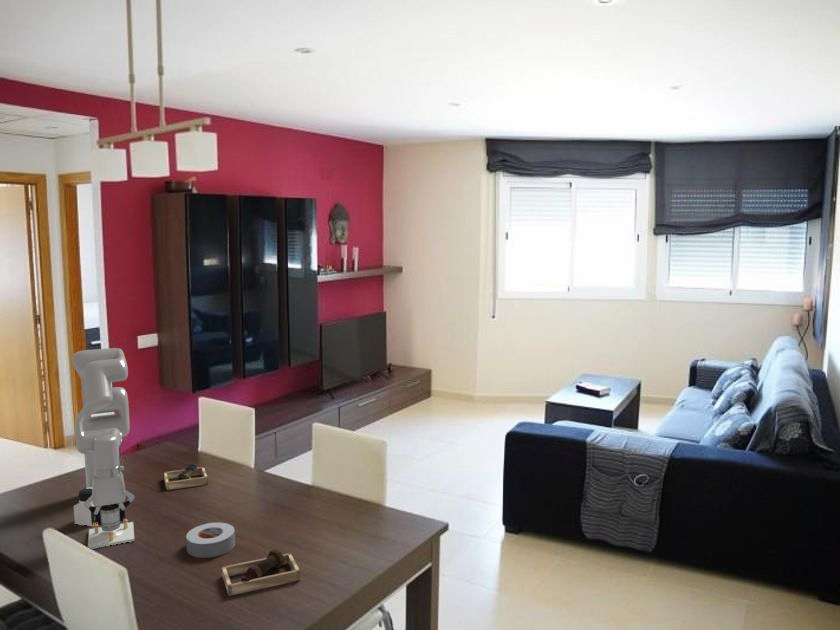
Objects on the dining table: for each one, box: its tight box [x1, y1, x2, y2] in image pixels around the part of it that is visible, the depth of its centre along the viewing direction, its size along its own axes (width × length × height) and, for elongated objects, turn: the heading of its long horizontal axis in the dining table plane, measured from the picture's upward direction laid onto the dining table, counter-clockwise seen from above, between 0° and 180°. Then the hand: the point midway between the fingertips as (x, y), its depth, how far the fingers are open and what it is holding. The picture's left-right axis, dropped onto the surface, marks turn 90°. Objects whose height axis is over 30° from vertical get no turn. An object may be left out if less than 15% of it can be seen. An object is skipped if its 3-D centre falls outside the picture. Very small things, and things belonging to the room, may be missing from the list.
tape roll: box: [185, 522, 236, 559], centre depth 218 cm, size 15×15×5 cm
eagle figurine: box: [175, 463, 198, 480], centre depth 274 cm, size 8×7×9 cm
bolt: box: [239, 548, 284, 582], centre depth 198 cm, size 6×5×15 cm
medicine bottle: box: [73, 487, 102, 527], centre depth 235 cm, size 7×7×12 cm
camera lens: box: [100, 504, 122, 531], centre depth 224 cm, size 6×6×8 cm
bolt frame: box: [221, 552, 301, 597], centre depth 198 cm, size 12×21×3 cm, turn 115°
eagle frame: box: [163, 466, 209, 491], centre depth 273 cm, size 13×16×3 cm
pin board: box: [87, 518, 135, 550], centre depth 224 cm, size 14×14×4 cm
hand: (110, 521), depth 224 cm, fingers closed on camera lens, 6 cm apart
